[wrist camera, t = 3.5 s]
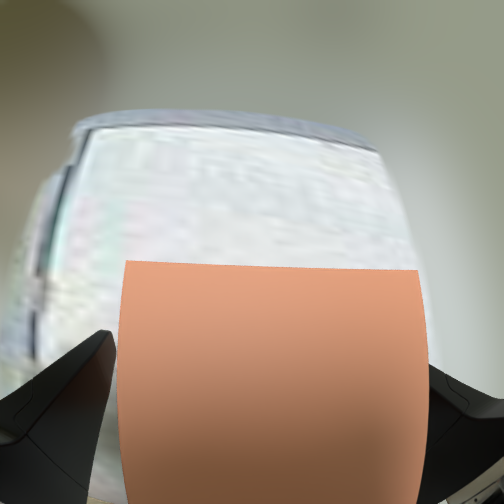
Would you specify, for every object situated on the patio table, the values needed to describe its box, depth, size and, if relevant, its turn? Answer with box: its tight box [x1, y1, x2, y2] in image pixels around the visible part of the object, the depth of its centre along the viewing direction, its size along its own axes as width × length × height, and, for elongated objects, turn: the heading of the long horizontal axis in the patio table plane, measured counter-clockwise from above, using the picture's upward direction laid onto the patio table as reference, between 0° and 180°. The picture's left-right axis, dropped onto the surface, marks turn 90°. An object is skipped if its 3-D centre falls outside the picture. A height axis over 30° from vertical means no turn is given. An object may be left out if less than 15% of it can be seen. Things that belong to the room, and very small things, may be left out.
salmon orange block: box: [117, 260, 429, 504], centre depth 8 cm, size 4×4×12 cm
